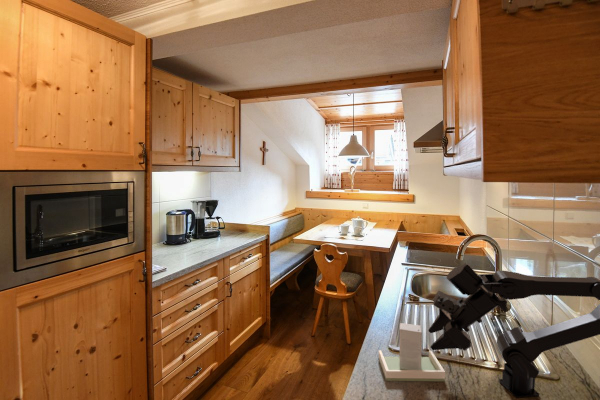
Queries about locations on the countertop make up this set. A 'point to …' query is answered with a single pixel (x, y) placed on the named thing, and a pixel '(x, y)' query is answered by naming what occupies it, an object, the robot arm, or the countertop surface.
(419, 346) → the skincare box
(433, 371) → the pad
